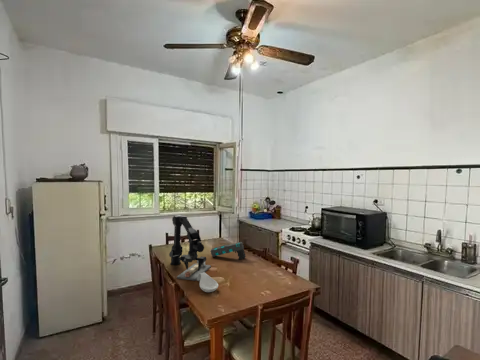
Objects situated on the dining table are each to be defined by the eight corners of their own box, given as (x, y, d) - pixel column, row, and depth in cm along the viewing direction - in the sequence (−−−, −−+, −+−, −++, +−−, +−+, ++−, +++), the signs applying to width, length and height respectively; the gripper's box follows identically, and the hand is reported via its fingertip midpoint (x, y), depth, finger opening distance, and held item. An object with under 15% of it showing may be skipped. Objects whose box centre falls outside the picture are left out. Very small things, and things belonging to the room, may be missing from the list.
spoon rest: (221, 292, 162) (221, 281, 161) (203, 296, 156) (203, 284, 156) (207, 278, 182) (207, 268, 182) (191, 282, 177) (191, 271, 177)
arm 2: (200, 266, 202) (200, 263, 202) (201, 266, 202) (201, 263, 202) (186, 276, 181) (186, 273, 181) (188, 277, 181) (188, 273, 181)
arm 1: (198, 265, 203) (198, 262, 203) (199, 266, 202) (199, 263, 202) (185, 276, 181) (185, 273, 181) (186, 276, 181) (186, 273, 181)
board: (176, 278, 182) (176, 276, 182) (194, 265, 209) (194, 263, 209) (195, 280, 178) (195, 278, 178) (210, 266, 205) (210, 265, 205)
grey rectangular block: (198, 264, 206) (198, 258, 206) (205, 265, 205) (205, 259, 205) (196, 265, 204) (196, 259, 203) (203, 266, 202) (203, 260, 202)
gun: (245, 258, 221) (240, 241, 222) (214, 266, 228) (209, 249, 229) (247, 256, 228) (242, 239, 229) (216, 263, 234) (211, 247, 235)
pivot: (200, 264, 208) (201, 261, 208) (204, 264, 207) (204, 262, 207) (198, 266, 203) (198, 263, 203) (201, 266, 202) (201, 264, 202)
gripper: (176, 250, 185) (176, 272, 185) (200, 253, 180) (200, 275, 180) (183, 246, 196) (183, 267, 196) (206, 249, 191) (206, 270, 191)
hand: (193, 270), depth 191 cm, fingers open, 9 cm apart
